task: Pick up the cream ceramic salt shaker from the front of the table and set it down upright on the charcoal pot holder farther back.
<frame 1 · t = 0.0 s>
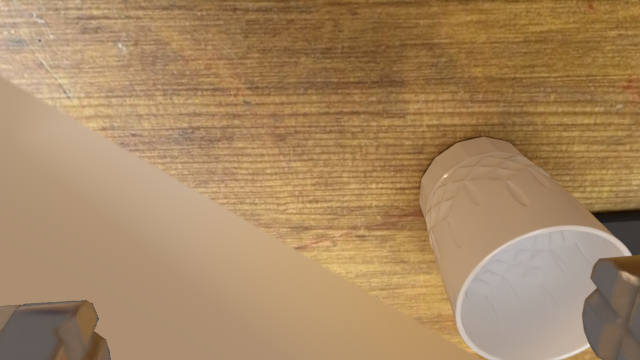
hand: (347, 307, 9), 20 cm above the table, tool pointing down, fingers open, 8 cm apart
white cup: (473, 185, 32), on the table
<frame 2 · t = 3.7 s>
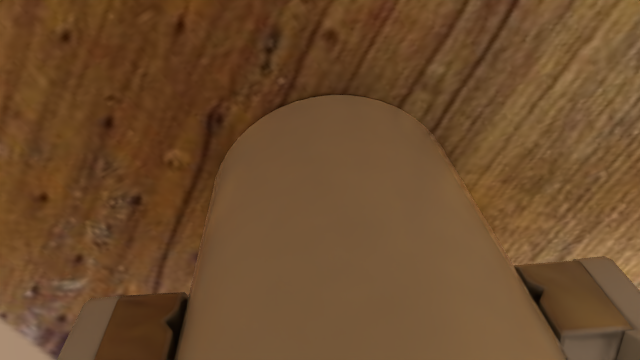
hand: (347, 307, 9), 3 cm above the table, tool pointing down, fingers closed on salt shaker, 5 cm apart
salt shaker: (334, 207, 12), on the table, touching gripper
when the fingers open (4 cm above the table, at t = 12.4 s): salt shaker stays where it is, resting on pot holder.
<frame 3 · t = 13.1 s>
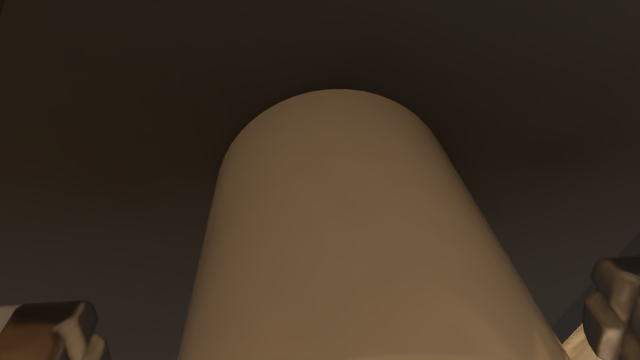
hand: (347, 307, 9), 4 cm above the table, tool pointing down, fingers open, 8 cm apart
salt shaker: (334, 199, 12), point 1 cm above the table, touching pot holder
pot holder: (329, 182, 12), on the table
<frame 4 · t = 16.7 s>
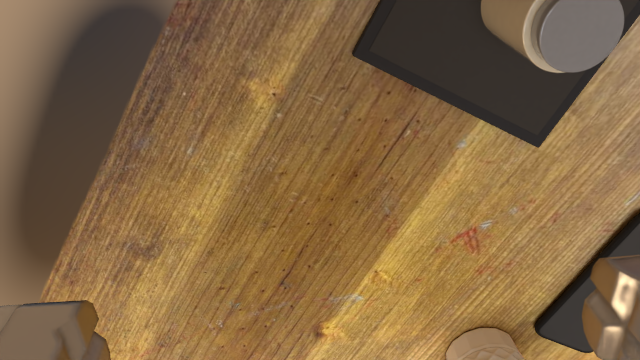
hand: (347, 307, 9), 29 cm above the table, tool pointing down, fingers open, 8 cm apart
smartphone: (610, 282, 48), on the table
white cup: (479, 350, 51), on the table
salt shaker: (520, 0, 35), point 1 cm above the table, touching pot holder
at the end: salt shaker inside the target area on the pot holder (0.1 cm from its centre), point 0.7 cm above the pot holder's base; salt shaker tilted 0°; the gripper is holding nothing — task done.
